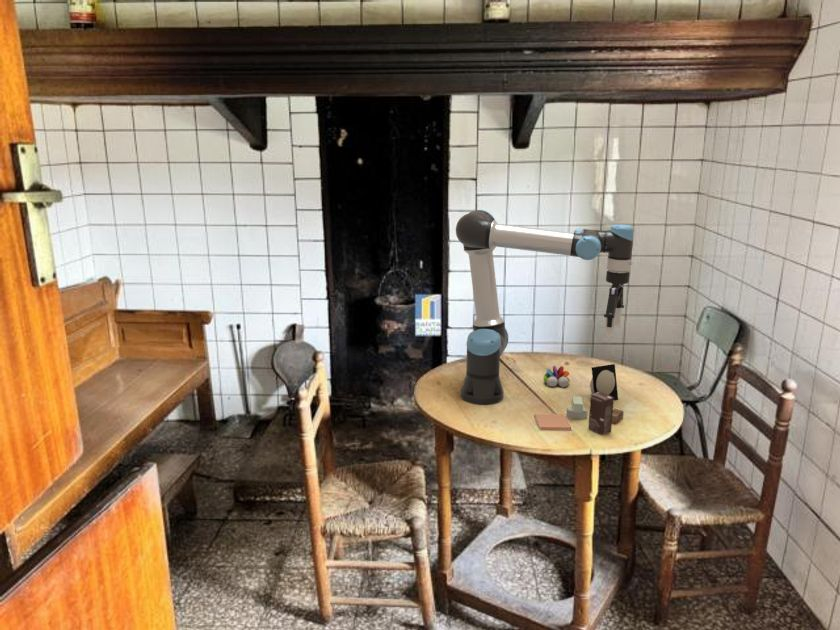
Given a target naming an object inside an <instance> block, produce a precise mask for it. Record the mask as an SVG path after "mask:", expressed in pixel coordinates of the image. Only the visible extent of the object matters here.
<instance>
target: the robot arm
mask: <svg viewBox="0 0 840 630" xmlns="http://www.w3.org/2000/svg"><path fill="white" fill-rule="evenodd" d="M634 233H635V230H634V227H633V226H632V225H628V224H621V223H620V224H612V225H610V229H608V230H602V229H601V230H600V229H586V228H583V229H580V228H578V229H575V230H574V231H573V232H572V231H571V232H570V231H561V230H552V229H544V228H537V227H528V226H527V227H526V226H522V225H521V226H520V225H511V224H505V223H503V224H502V223H498V222H497V221H496V219H495V217H494V215H493V214H492V213H490V212H488V211H487V210H483V209H475V210H472V211H470V212H468V213H466V214H464V215H462V216H461V217H460V218H459V219H458V221H457V223H456V226H455V235H456V238H457V240H458V241H459V242H460V244H462V245H463V251H464V252H465V253H467V255H468V258H469V266H470V269H469V270H470V276H471V277H470V278H471V285H472V294H473V301H474V302H473V303H474V309H475V320H473V322H472V327H473V328H472V329H473V330H472V331H471V332H470V333H469V334H468V335H467V338H466V339H467V340H466V367H465V369H466V373H465V377H464V380H463V383H462V386H461V388H460V397H461V398H462V400H464V401H466V402H468V403H470V404H477V405H492V404H497V403H500V402H501V401H502V400H503V398H504V389H503V386H502V382H501V379H500V364H501V363H500V362H501V361H500V360H501V356H502V354H503V353H504V351H505V350H506V348H507V346H508V343H509V333H508V330H507V328H506V326H505V325H506V324H505V319H504V318H503V317H502V316H501V314H500V308H499V299H498V291H497V290H498V289H497V280H496V279H497V278H496V272H495V261H494V253H493V251H494V250H495V249H496V248H497V247H498V248H506V249H512V250H513V249H514V250H519V251H527V252H528V251H530V252H537V253H544V254H552V255H553V254H554V255H562V256H569V257H575V258H576V257H577V258H580V259H582V260H585V261H591V260H594V259H596V257H598V256H599V254H600V253H603V254H605V253H606V254H607V262H606V263H607V264H606V269H607V271H606V277H605V281H606V282H607V283H609V284H611V286H610V287H609V288H608V290H609V291H608V299H607V306H606V310H605V314H603V317H604V318H605V329H604V336H605V337H611V338H612V337H614V332H615V331H614V330H615V327H619V328H620V327H621V318H622V310H623V309H624V308H625V304H624V285H626V284H628V283H629V282H630V274H631V273H630V272H629V271H630V270H631V266H632V265H634V264H633V262H632V261H631V260H632V255H633V253H632V252H633V247H634V246H633V245H634Z"/></svg>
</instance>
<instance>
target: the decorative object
mask: <svg viewBox="0 0 840 630" xmlns="http://www.w3.org/2000/svg"><path fill="white" fill-rule="evenodd" d="M591 374H592V375H591V376H592V378H591V380H590V385H589V388H590V392H591V394H593V393H596V392H599V391H600V392H602V393H605V394H608V395H609V396H612V397H614V401H618V400H619V393H618V383H617V382H618V381H617V371H616V363H612V364H606V365H605V364H604V365H598V366H593V367H591Z"/></svg>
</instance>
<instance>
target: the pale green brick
mask: <svg viewBox="0 0 840 630" xmlns="http://www.w3.org/2000/svg"><path fill="white" fill-rule="evenodd" d="M571 402H572V403H571V407H572V409H573V412H577V413H582V412H583V407H584V401H583V397H581V396H572V398H571Z"/></svg>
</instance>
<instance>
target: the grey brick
mask: <svg viewBox="0 0 840 630" xmlns="http://www.w3.org/2000/svg"><path fill="white" fill-rule="evenodd" d="M565 416H566V418H567V420H572V419H575V420H576V419H579V420H580V419H581V420H584V419H587V418H588V410H587V408H586V407H585V406H583V412H582V413H577V412H573V409H572V406H567V407H566V413H565Z"/></svg>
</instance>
